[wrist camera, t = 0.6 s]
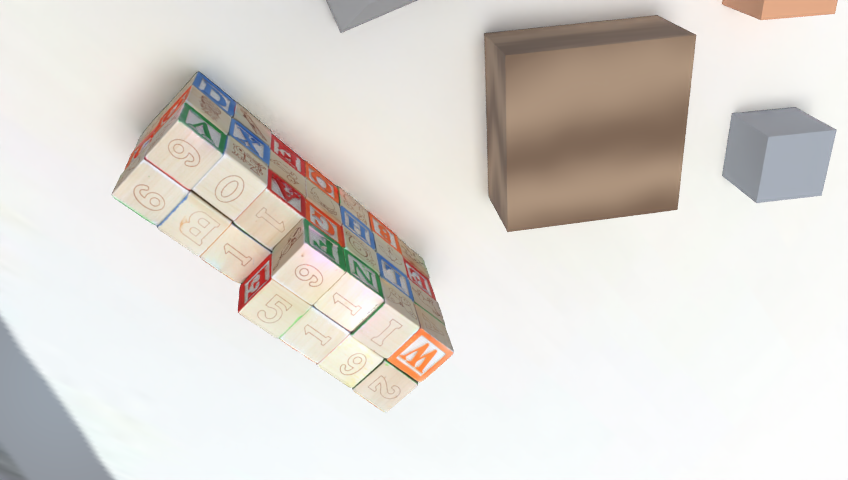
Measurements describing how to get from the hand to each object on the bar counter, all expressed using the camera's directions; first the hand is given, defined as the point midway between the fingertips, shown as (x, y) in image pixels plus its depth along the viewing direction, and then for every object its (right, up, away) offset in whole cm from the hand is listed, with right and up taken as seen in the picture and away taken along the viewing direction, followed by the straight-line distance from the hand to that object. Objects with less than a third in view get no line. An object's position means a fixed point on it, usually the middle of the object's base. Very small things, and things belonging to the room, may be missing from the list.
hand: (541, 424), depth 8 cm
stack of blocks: (-11, +5, +46) cm, 48 cm away
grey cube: (+24, +9, +49) cm, 56 cm away
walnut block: (+9, +11, +46) cm, 48 cm away
